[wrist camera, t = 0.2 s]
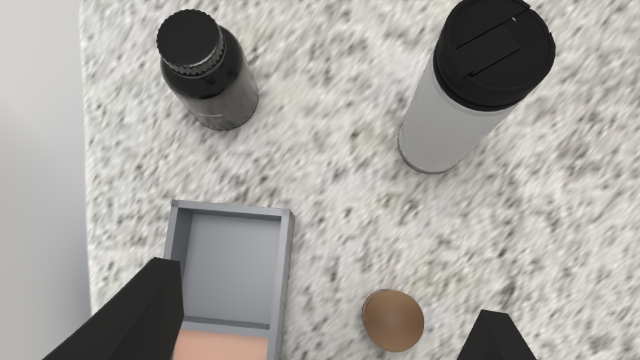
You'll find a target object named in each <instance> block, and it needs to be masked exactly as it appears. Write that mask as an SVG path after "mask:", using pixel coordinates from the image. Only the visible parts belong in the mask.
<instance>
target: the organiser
mask: <svg viewBox="0 0 640 360" xmlns="http://www.w3.org/2000/svg"><path fill="white" fill-rule="evenodd" d="M294 219H295V216H294V215H293V213H292V212H291V211H290V209H278V208H266V207H255V206H243V205H231V204H219V203H207V202H195V201H184V200H172V205H171V211H170V218H169V224H168V230H167V237H166V243H165V250H164V256H163V259H169V260H175V261H180V270H181V282H182V295H183V307H184V319H183V322H182V325H181V328H180V331H179V334H178V337H177V340H176V343H175V346H174V349H173V352H172V355H171V358H170V360H280V356H281V346H282V336H283V327H284V317H285V307H286V297H287V287H288V277H289V268H290V258H291V248H292V238H293V228H294Z"/></svg>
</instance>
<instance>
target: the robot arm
mask: <svg viewBox="0 0 640 360" xmlns="http://www.w3.org/2000/svg"><path fill="white" fill-rule="evenodd" d="M183 319H184V307H183V295H182V282H181V270H180V261H175V260H169V259H163V258H157V257H154V258H153V259H151V260H150V261H149V262H148V263H147V264H146V265H145V266H144V267H143V268H142V269H141V270H140V271H139V272H138V273H137V274H136V275H135V276H134V277H133V278H132V279H131V280H130V281H129V282H128V283H127V284H126V285H125V286H124V287H123V288H122V289H121V290H120V291H119V292H118V293H117V294H116V295H115V296H114V297H112V298H111V299H110V300H109V301H108V302H107V303H106V304H105V305H104V306H103V307H102V308H101V309H100V310H99V311H97V312H96V313H95V314H94V315H93V316H92V317H91V318H90V319H89V320H88V321H87V322H86V323H85V324H83V325H82V326H81V327H80V328H79V329H78V330H77V331H75V332H74V333H73V334H72V335H71V336H70V337H68V338H67V339H66V340H65V341H64V342H62V343H61V344H60V345H59V346H58V347H56V348H55V349H54V350H53V351H52V352H51V353H49V354H48V355H47V356H46V357H45V358H44V359H42V360H170V358H171V355H172V352H173V349H174V346H175V343H176V340H177V337H178V334H179V331H180V328H181V325H182V322H183ZM457 360H537V359H536V358H535V356H534V355H533V353H532V351H531V350H530V348H529V347H528V345H527V343H526V342H525V340H524V339H523V337H522V335H521V334H520V332H519V331H518V329H517V328H516V326H515V324H514V323H513V321H512V320H511V318H510V317H509V315H508V314H507V313H501V312H495V311H488V310H482V309H481V312H480V314H479V316H478V318H477V320H476V322H475V324H474V326H473V328H472V330H471V332H470V334H469V336H468V338H467V340H466V342H465V344H464V346H463V348H462V350H461V352H460V354H459V356H458V358H457Z"/></svg>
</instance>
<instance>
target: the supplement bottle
mask: <svg viewBox="0 0 640 360" xmlns="http://www.w3.org/2000/svg"><path fill="white" fill-rule="evenodd" d="M156 42H157V48H158V50H159V54H160V55H161V59H160V67H161V72H162V76H163V78H164V80H165V82H166V83H167V85H168V86H169V88H170V89H171V90H172V91H173V92H174V94H175V95H176V96H177V97H178V98H179V99H180V100H181V102H182V103H183V104H184V105H185V106H186V107H187V109H188V110H189V111H190V112H191V113H192V114H193V116H194V117H195V118H196V119H197V120H198V121H199V122H201V123H202V124H204V125H205V126H207V127H210V128H213V129H219V130H225V129H231V128H234V127H237V126H239V125H241V124H242V123H244V122H245V121H246V120H247V119H248V118H249V117H250V116H251V115H252V113H253V111H254V110H255V107H256V104H257V100H258V92H257V86H256V83H255V80H254V78H253V75H252V73H251V70H250V68H249V65H248V62H247V60H246V57H245V55H244V52H243V50H242V47H241V45H240V43H239V42H238V40H237V38H236V37H235V36H234V35H233V34H232V33H231V32H230V31H229V30H227V29H226V28H224V27H222V26H220V25H218V24H217V23H216V22H215V20H214V19H213V18H211V16H210V15H207V14H206V13H205V12H201V11H200V10H194V9H191V10H189V9H186V10H180V11H179V12H175V13H174V14H173V15H170V16H169V17H168V18H167V19H165V21H164V23H162V24H161V27H160V29H159V30H158V34H157V40H156Z"/></svg>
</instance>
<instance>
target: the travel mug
mask: <svg viewBox="0 0 640 360" xmlns="http://www.w3.org/2000/svg"><path fill="white" fill-rule="evenodd" d="M530 7H531V6H530V5H528V4H527V3H526V2H524V1H523V0H463V1H461V2H459V3H458V4H457V5H456V6H455V7H454V8H453V9H452V11H451V12H450V14H449V16H448V17H447V20H446V22H445V24H444V27H443V29H442V31H441V34H440V37H439V38H438V40H437V42H436V43H435V46H434V49H433V51H432V53H431V55H430V58H429V60H428V63H427V65H426V68H425V70H424V72H423V75H422V77H421V80H420V82H419V84H418V87H417V89H416V92H415V94H414V97H413V99H412V101H411V104H410V106H409V109H408V111H407V114H406V116H405V118H404V121H403V123H402V126H401V128H400V131H399V134H398V148H399V151H400V154H401V156H402V158H403V159H404V160H405V161H406V163H407V164H408V165H410V166H411V167H412V168H414V169H415V170H417V171H420V172H423V173H427V174H438V173H442V172H445V171H447V170H449V169H451V168H452V167H454V166H455V165H456V164H457V163H458V162H459V161H460V160H461V159H462V158H463V157H464V156H465V155H466V154H467V153H468V152H469V151H471V150H472V149H473V148H474V147H475V146H476V145H477V144H478V143H479V142H480V141H481V140H482V139H483V138H484V137H485V136H486V135H487V134H488V133H489V132H490V131H491V130H492V129H494V128H495V127H496V126H497V125H498V124H499V123H500V122H501V121H502V120H503V119H504V118H505V117H506V116H507V115H508V114H509V113H510V112H511V111H512V110H513V109H514V108H515V107H517V106H518V105H519V103H521V102H522V101H523V100H524V99H525V98H526V96H527V95H528V94H529V93H530V92H531V91H532V90H533V89H534V88H535V87H536V86H537V85H538V84H539V83H540V82H541V81H542V80H543V79H544V78H545V77H546V76H547V74H548V73H549V71H550V69H551V67H552V66H553V63H554V59H555V49H556V45H555V42H554V40H553V37H552V34H551V32H550V33H549V30H548V27H547V25H546V24H545V22H544V21H543V19H542V18H541V17H540V16H539V15H538V14H537V13H536V12H535V11H534V10H532V9H530Z"/></svg>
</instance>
